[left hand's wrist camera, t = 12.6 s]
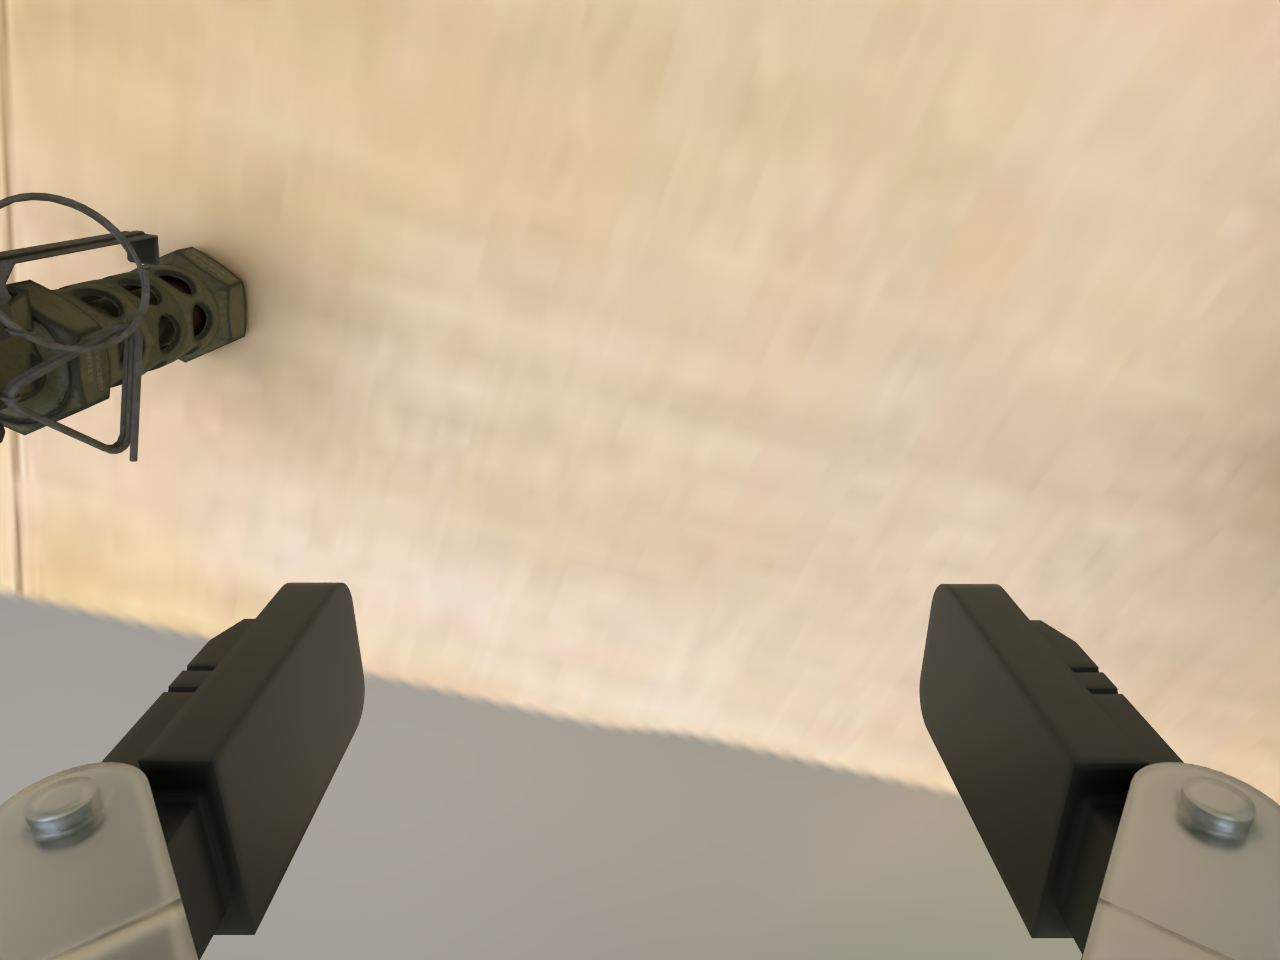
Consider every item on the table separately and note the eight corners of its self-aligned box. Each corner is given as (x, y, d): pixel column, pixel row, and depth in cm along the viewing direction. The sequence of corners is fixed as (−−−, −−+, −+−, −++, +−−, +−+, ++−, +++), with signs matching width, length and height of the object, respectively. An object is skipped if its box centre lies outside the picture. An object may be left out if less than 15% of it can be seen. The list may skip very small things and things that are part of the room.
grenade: (280, 382, 39) (82, 506, 25) (156, 366, 39) (-113, 482, 25) (275, 190, 36) (45, 212, 22) (140, 170, 36) (-179, 179, 22)
